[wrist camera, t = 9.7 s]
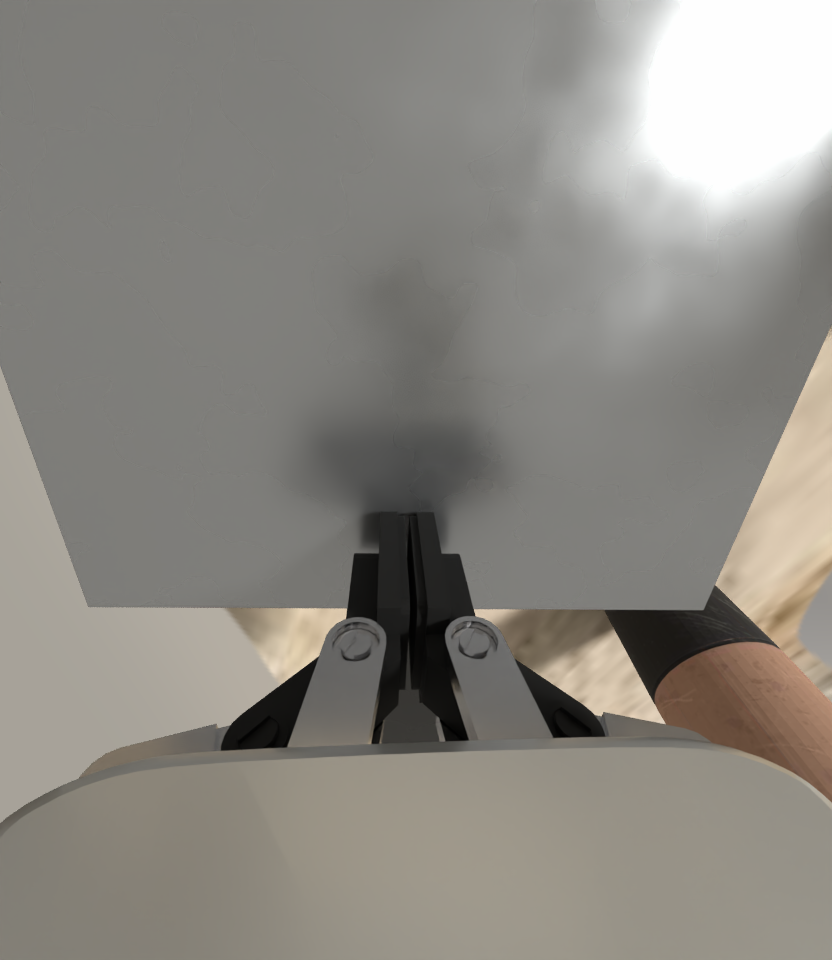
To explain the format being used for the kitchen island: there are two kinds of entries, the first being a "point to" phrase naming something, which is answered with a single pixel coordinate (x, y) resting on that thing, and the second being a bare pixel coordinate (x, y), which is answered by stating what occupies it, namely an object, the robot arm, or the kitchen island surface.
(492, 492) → the lid
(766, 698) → the travel mug
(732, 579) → the kitchen island surface
